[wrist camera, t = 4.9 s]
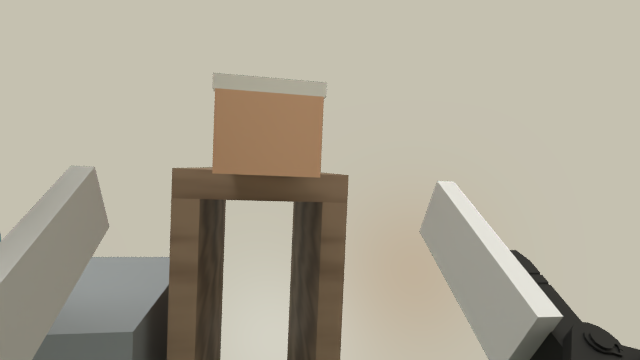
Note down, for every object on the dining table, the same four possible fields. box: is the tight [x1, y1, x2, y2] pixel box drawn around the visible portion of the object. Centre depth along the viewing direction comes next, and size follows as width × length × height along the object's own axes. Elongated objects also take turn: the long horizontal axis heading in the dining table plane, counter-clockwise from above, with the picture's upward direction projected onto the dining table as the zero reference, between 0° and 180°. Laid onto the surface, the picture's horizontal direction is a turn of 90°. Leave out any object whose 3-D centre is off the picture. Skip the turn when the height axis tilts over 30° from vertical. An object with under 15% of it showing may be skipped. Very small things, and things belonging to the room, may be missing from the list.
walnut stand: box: [167, 167, 348, 360], centre depth 35 cm, size 20×12×28 cm, turn 10°
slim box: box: [212, 73, 327, 178], centre depth 27 cm, size 26×5×4 cm, turn 10°
